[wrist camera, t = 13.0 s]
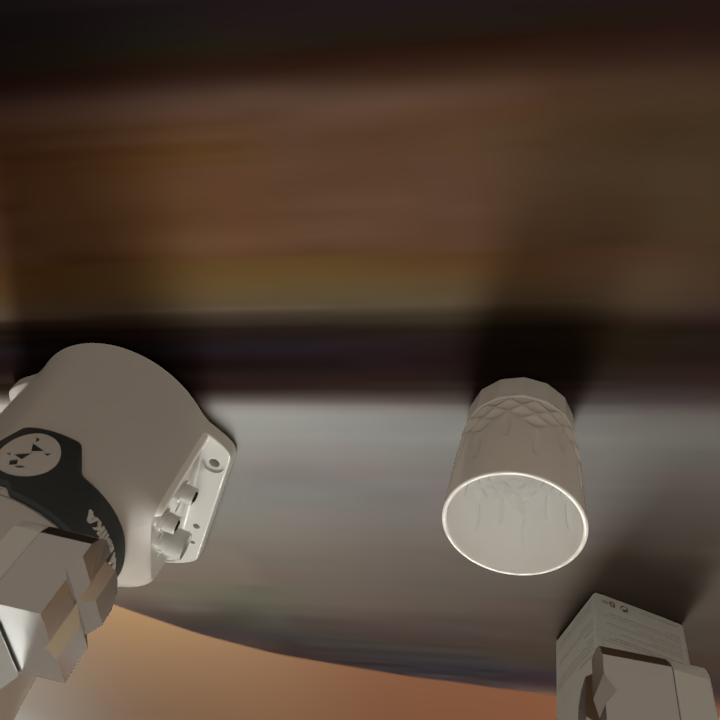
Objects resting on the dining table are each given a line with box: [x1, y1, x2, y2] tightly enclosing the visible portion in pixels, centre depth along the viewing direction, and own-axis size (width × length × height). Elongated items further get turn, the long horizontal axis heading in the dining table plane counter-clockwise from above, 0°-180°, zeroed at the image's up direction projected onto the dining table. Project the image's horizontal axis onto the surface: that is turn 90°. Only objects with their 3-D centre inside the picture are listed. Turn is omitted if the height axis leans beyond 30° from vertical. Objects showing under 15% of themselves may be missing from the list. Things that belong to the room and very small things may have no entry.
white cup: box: [442, 377, 588, 575], centre depth 42 cm, size 8×8×10 cm
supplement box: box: [556, 593, 690, 720], centre depth 50 cm, size 7×7×13 cm
